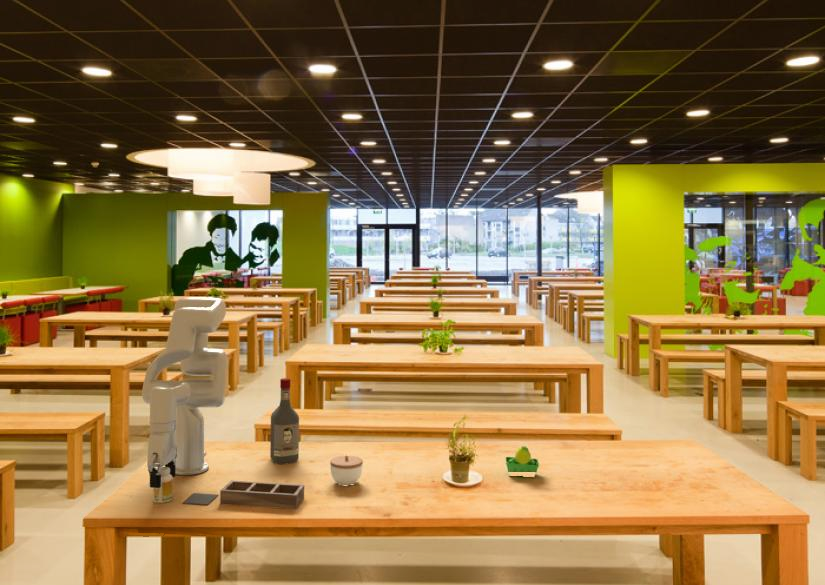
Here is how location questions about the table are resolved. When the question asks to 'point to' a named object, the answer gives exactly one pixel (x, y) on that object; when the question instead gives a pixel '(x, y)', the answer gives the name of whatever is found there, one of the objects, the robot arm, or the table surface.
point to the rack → (262, 494)
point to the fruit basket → (522, 461)
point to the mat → (200, 499)
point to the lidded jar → (346, 469)
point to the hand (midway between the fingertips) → (162, 482)
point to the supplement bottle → (164, 487)
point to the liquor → (284, 429)
